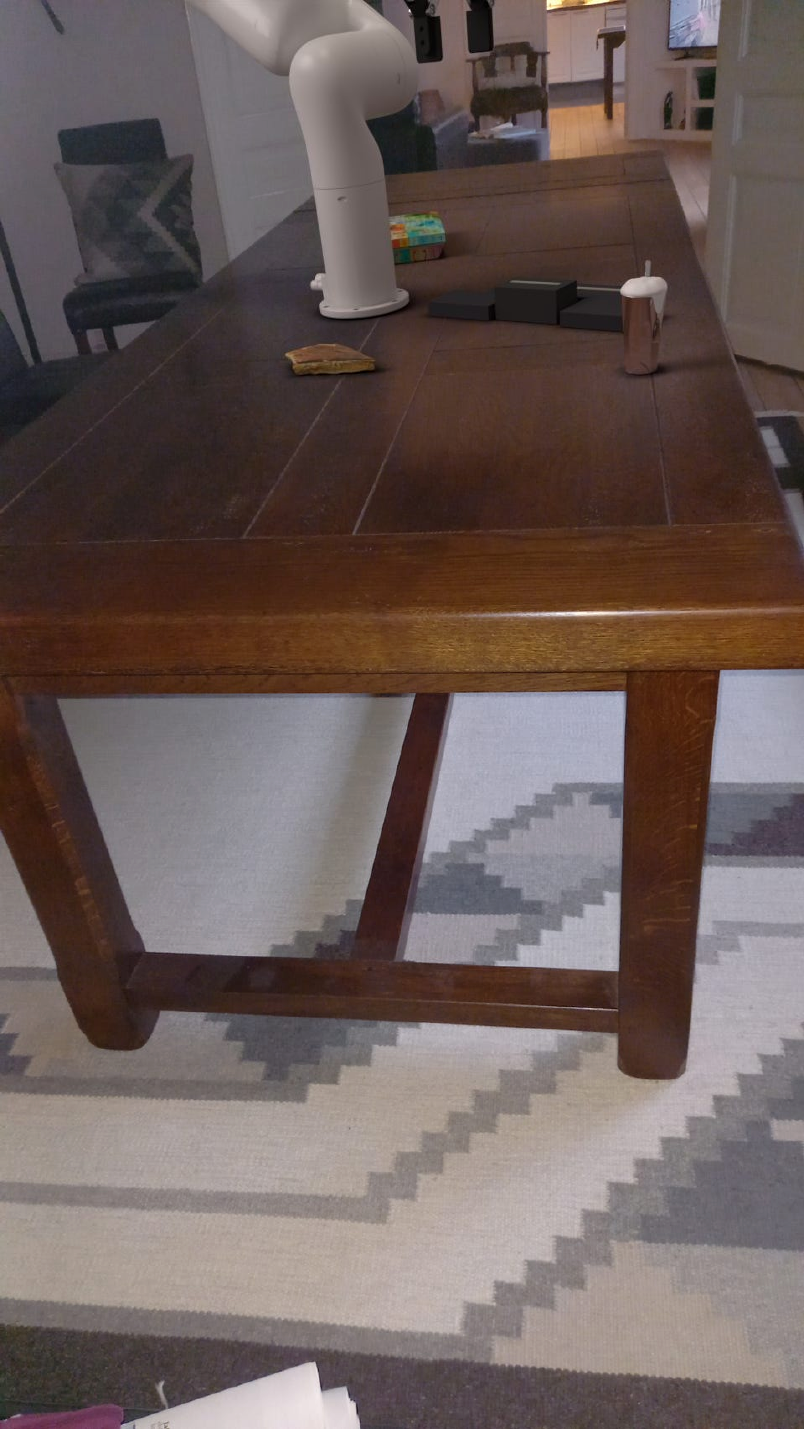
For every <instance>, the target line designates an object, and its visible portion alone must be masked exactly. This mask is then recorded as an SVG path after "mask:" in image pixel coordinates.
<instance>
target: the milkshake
mask: <svg viewBox="0 0 804 1429" xmlns="http://www.w3.org/2000/svg"><path fill="white" fill-rule="evenodd" d="M651 263H652V262H651V260H645V267H644V268H645V270H644V276H640V277H636V278H629V279H628V280H627V281H626V282H625V283H624V284H623V285H622V286H623V287H622V288H621V290H620V292H621V305H622V317H623V332H622V333H623V348H624V349H623V350H624V369H625V370H624V371H625V372H626V373H628V374H630V375H637V376H641V375H649V374H652V373H655V372H656V371H657V369H658V366H659V356H660V346H661V337H662V330H663V321H664V315H665V308H666V299H667V292H668V283H667V281H666V279H664V278H663V277H660V276H650V275H651V265H652V264H651Z"/></svg>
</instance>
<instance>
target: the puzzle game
mask: <svg viewBox="0 0 804 1429" xmlns="http://www.w3.org/2000/svg"><path fill="white" fill-rule="evenodd" d="M389 220H390V230H391V239H392V248H393V258H394V265H395V264H402V263H403V264H404V263H411V262H418V261H425V260H433V259H434V260H435V259H438V258H439V257H440V255H441V253H442V251H443V250H444V248H445V245H446V242H447V238H446V236H447V235H446V231H445V228H444V225H443V223H442V220H441V217H440V213H439V212H438V211H426V212H419V213H417V212H416V213H410V214H402V215H394V216H389Z"/></svg>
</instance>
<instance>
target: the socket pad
mask: <svg viewBox="0 0 804 1429" xmlns="http://www.w3.org/2000/svg"><path fill="white" fill-rule="evenodd" d="M622 287H623V285H610V284H594V283H593V284H591V283H577V303H575V304H573V305H572V306H570V307H568V308H566V309H564V310H562V311H560V323H559V327H560V328H570V329H583V330H595V331H608V332H621V333H623V317H622V305H621V292H620V290H621V288H622ZM427 306H428V307H427V309H428V316H429V317H440V318H452V319H465V320H474V321H475V320H476V321H486V322H490V321H492V320H494V319H496V314H495V296H494V286H493V287H491V288H488V289H486V290H475V289H474V290H472V289H459V288H457V289H453V290H452V291H449V292H447V293H444V294H442V295H440V296H437V297H436V298H433V299H431V300H428V301H427Z"/></svg>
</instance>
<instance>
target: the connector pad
mask: <svg viewBox="0 0 804 1429" xmlns="http://www.w3.org/2000/svg"><path fill="white" fill-rule="evenodd" d="M577 284H578V280H577V279H567V278H550V277H549V278H548V277H531V276H530V277H529V276H514V277H512V278H510V279H508V280H506V281H503V282H501V283H499V284H496V285H495V286H493V287H494V296H495V314H496V318H495V320H496V321H508V322H519V323H521V322H522V323H532V324H533V323H534V324H546V325H560V311H562V310H564V309H566V308H568V307H570V306H572V305H573V304H575V303H577Z"/></svg>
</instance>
